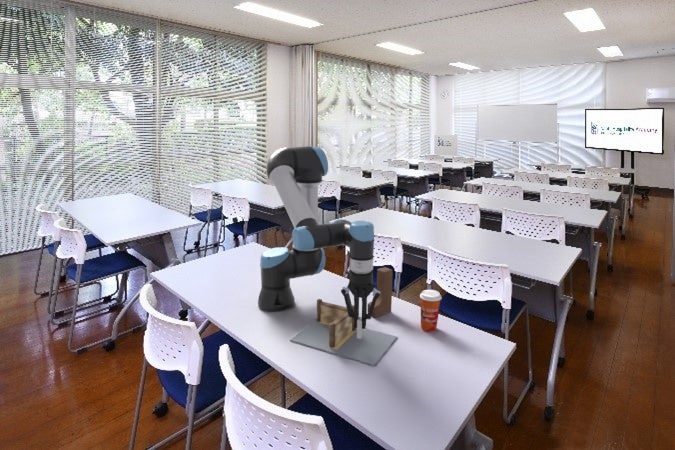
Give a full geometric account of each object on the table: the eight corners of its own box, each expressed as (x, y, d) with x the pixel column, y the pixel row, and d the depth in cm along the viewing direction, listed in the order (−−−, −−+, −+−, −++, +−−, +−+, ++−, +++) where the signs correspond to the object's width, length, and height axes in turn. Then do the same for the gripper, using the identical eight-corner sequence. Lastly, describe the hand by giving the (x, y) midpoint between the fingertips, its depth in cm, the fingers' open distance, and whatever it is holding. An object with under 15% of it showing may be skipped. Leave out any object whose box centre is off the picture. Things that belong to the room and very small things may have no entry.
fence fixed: (315, 321, 157) (315, 299, 155) (319, 318, 159) (318, 297, 157) (354, 331, 150) (354, 308, 148) (357, 328, 152) (357, 306, 150)
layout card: (289, 341, 144) (289, 339, 144) (319, 317, 161) (319, 316, 161) (374, 366, 130) (374, 364, 130) (396, 337, 147) (396, 336, 147)
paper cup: (416, 331, 151) (418, 295, 148) (420, 321, 158) (422, 287, 155) (437, 335, 148) (440, 299, 145) (441, 325, 155) (443, 291, 152)
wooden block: (374, 318, 161) (375, 274, 157) (367, 313, 165) (367, 271, 160) (391, 312, 166) (393, 269, 162) (384, 308, 170) (385, 266, 165)
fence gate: (348, 329, 151) (348, 309, 149) (353, 330, 150) (353, 310, 148) (328, 346, 139) (328, 324, 138) (333, 347, 138) (333, 326, 136)
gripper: (338, 272, 130) (338, 339, 136) (379, 275, 127) (377, 344, 133) (343, 264, 137) (343, 328, 143) (383, 267, 134) (380, 333, 140)
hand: (359, 336), depth 138 cm, fingers closed
